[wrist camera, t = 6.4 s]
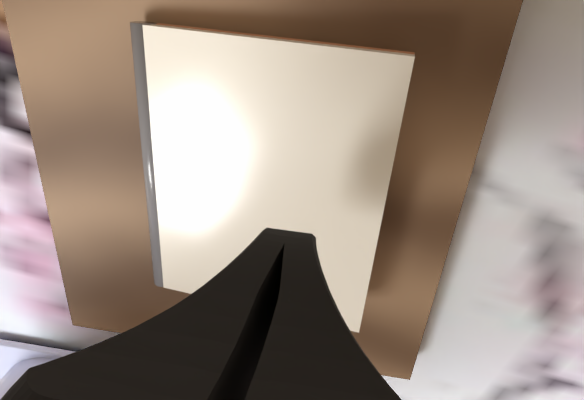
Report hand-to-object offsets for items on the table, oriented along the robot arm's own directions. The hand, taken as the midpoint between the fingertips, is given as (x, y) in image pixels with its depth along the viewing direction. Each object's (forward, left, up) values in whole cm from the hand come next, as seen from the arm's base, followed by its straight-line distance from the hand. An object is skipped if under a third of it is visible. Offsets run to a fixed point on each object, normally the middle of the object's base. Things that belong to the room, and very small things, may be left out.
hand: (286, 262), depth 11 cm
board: (0, +2, -6) cm, 6 cm away
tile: (0, +2, -3) cm, 4 cm away
